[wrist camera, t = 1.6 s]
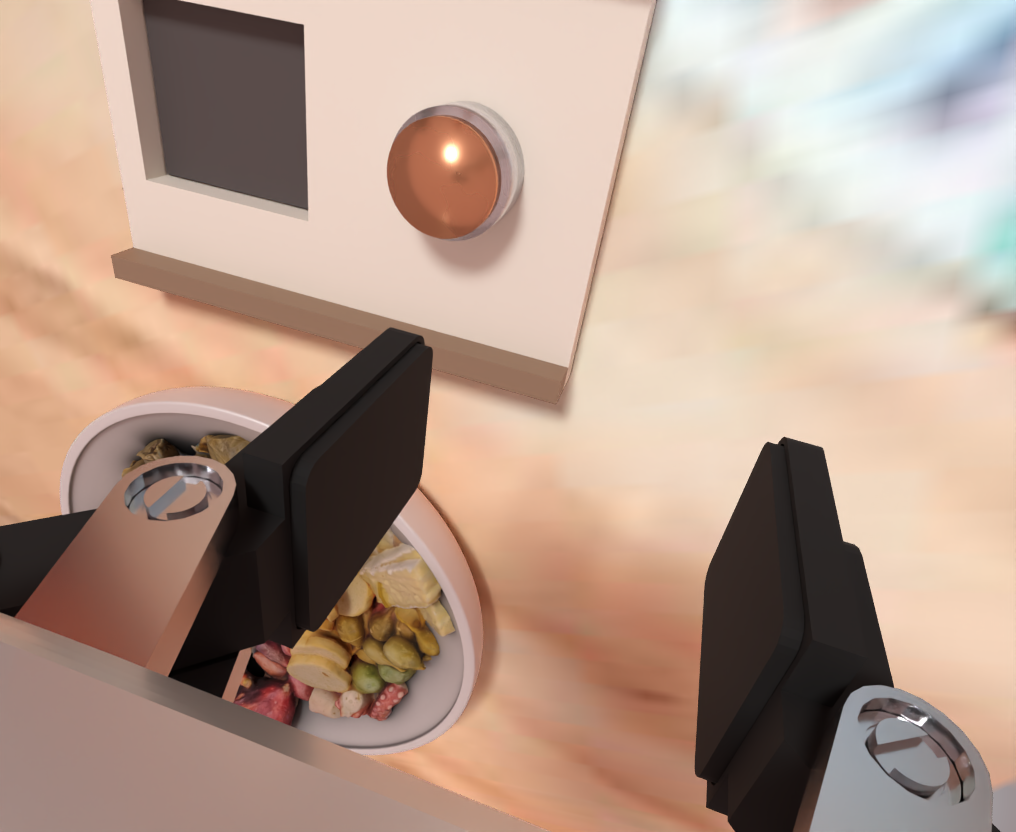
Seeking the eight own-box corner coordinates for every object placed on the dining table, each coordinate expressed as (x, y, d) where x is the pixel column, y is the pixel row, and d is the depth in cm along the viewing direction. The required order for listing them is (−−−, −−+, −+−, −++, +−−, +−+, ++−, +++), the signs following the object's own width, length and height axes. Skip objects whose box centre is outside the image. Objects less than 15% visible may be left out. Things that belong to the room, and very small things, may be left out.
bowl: (82, 305, 40) (-44, 357, 33) (540, 454, 35) (496, 549, 29) (148, 617, 56) (72, 693, 50) (466, 747, 52) (428, 849, 45)
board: (673, -75, 22) (666, -88, 20) (569, 375, 32) (556, 404, 29) (91, -163, 26) (24, -183, 24) (157, 261, 36) (115, 277, 33)
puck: (533, 114, 25) (512, 123, 23) (514, 239, 28) (493, 259, 25) (415, 89, 26) (382, 95, 23) (408, 213, 29) (377, 230, 26)
